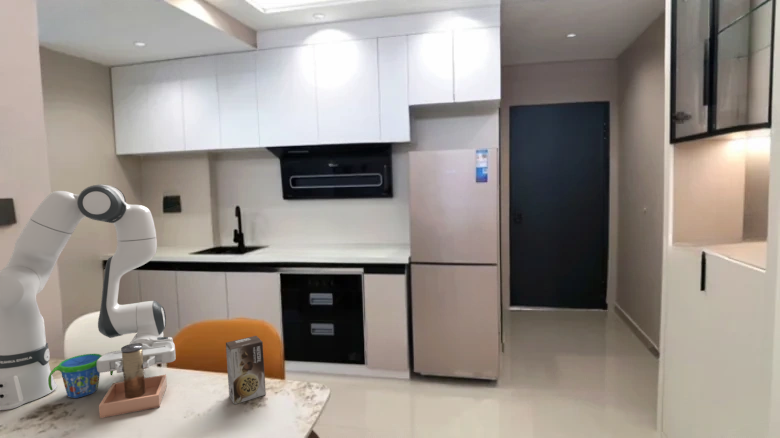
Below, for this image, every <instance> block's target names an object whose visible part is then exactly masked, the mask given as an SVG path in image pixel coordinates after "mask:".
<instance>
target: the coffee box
mask: <svg viewBox="0 0 780 438" xmlns="http://www.w3.org/2000/svg"><path fill="white" fill-rule="evenodd" d="M263 343H264V342H263V341H262V340H261V338H259V337H258V336H257V335H252V336H249V337H245V338H241V339H236V340H235V339H234V340H232V341H228V342H225V347H226V348H225V351H226V352H225V353H226V367H227V381H228V382H227V383H228V396H229V398H230V400H231V402H232V403H233V405H237V404H240V403H244V402H247V401H250V400H253V399H256V398H259V397H263V396H265V395H266V394H267V391H266V390H267V389H266V378H265V377H266V376H265V374H266V373H265V360H264V359H265V358H264V344H263Z"/></svg>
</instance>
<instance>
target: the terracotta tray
mask: <svg viewBox="0 0 780 438" xmlns="http://www.w3.org/2000/svg"><path fill="white" fill-rule="evenodd" d="M144 379H145V393H144V394H143V395H141V396H139V397H136V398H125V390H124V380H123V381H117V382H113V383H112V384H111V386H110V387H109V388H108V390H107V392H106V394H105V395H104V397H103V399H102V400H101V402H100V403H99V405H98V411H99V419H103V418H109V417H113V416H114V417H115V416H119V415H124V414H129V413H134V412H140V411H141V412H142V411H146V410H152V409H157V408H160V407H161V405H162V401H163V398H164V395H165V392H166V389H167V386H168V384H167V374H161V375H156V376H155V375H154V376H149V377H144Z"/></svg>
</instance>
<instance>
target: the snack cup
mask: <svg viewBox="0 0 780 438" xmlns="http://www.w3.org/2000/svg"><path fill="white" fill-rule="evenodd" d="M102 356H103V355H102V354H100V353H87V354H86V353H85V354H80V355H76V356H72V357H70V358H67V359H64V360H63V361H61V362H60V363H58V365H57V366H56V367H54V368H53V369H52V370H51V373H50V375H49V378H48V384H49V388H50V390H53V389H52V385H51V375H52V376H53V374H55V372H57V371H59V372H60V373H61V377H62V381H63V384H64V388H65V392H66V395H67V397H69V398H71V399H72V398H74V399H78V398H82V397H86V396H87V395H92V394H94V393H95V392H96V391H97V390H98V389H99V385H100V376H101V375H100V374H101V373H100V372H98V371H97V360H98V359H99V358H100V357H102ZM109 373H110V376H113V373H114V371H109ZM53 391H54V390H53Z"/></svg>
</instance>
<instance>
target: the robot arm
mask: <svg viewBox="0 0 780 438" xmlns="http://www.w3.org/2000/svg"><path fill="white" fill-rule="evenodd" d="M86 218H87V219H89V220H92V221H97V222H104V223H109V224H113V226H114V228H115V233H116V249H115V251H114V254H113V255H112V256H110V257H108V259H107V261H106V264H105V266H104V267H105V269H104V275H103V284H102V292H101V302H100V310H99V314H98V315H99V316H98V318H97V328H98V331H99V333H100V334H102V335H103V336H105V337H107V338H110V339H112V338H116V337H122V336H124V335H131V334H135V335H134V337H133V338H132V340H131V341H130V342H129V344H134V343H141V344H143V348H142V350H143V369H144V370H146V369H150V367H151V366H154V365H155V366H156V365H160V364H161V365H162V364H167V363H173V362H174V361H176V357H177V356H176V345H175V343H174V340H173V337H171V336H164V330H165V329H166V325H167V317H166V316H167V315H166V311H165V309H164V306H162V304H160V303H159V302H158V301H156V300H149V301H140V302H135V303H133V302H132V303H127V304H119V302H118V298H119V291H120V290H119V289H120V281H121V279H122V278H123V276H124V275H126V274H127V273H129V272H131V271H133V270H135V269H137V268H139V267H140V268H141V267H142V266H144V265H145V264H148V263H149V262H150V261H151V260H153V258H154V257H155V256H156V253H157V249H158V241H157V230H156V226H155V221H154V217H153V215H152V212H151V210H150V209H149V208H148V207H147V206H145V205H141V204H130V203H127V200H126V196H125V195H124V193H123V192H122V191H121V190H120V189H119V188H118V187H115V186H113V185H110V184H104V183H103V184H102V183H101V184H95V185H94V184H93V185H90V186H88V187H86V188H84V189H82V191H81V192H80V193H77V194H76V193H73V192H70V191H66V190H54V191H52V192H50V193H49V194H48V195H47V196H46V197H45V198H44V199H43V201H41V203H40V204H39V205H38V206H37V208H36V209H35V210H34V212H33V213H32V214H31V216H30V218H28V221H27V222H26V224H25V225H24V228H23V229H22V230H21V233H20V234H19V235H18V238H17V239H16V240H15V242H14V247H13V250H12V254H11V256H10V258H9V260H8V262H7V264H6V265H5V267H3V268H2V269H1V270H0V411H5V410H12V409H16V408H18V407H21V406H23V405H24V404H27V403H30V402H32V401H36V400H39V399H41V398H43V397H44V396H48V395H49V394H50V393H52V392H54V391H55V390H56V389H57V387H58V385H57V383H56V381H55V378H54V376H53V374H52V375H51V385H52V389H53V390H50V388H49V384H48V378H49V375H50V373H51V371H52V370H51V367H50V357H51V356H50V354H51V353H50V349H49V343H48V342H47V340H46V339H47V338H46V328H45V318H44V317H43V315H42V313H41V310H40V307H39V305H38V301H37V295H38V294H39V293H41V292H42V291H43V289H44V288H45V287H46V284H47V283H48V281H49V279H50V277H51V275H52V272H53V271H54V269H55V266H56V263H57V261H58V260H59V258H60V255H61V253H62V252H63V250H64V249H65V247H66V245H67V243H68V242H69V240H70V238H71V237H72V235H73V233H74V232H75V230H76V228H77V227H78V225H79V224H80V223H81V221H82V220H84V219H86ZM97 371H98V372H100V374H103V373H106V372H107V373H108V372H110V371H113V372H114V371H115V372H116V374H120V373H123V362H122V352H121V350H115V351H110V352H109V351H108V352H106V353H104V354H103V355H102V357H100V358H99V359H98V360H97Z"/></svg>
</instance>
